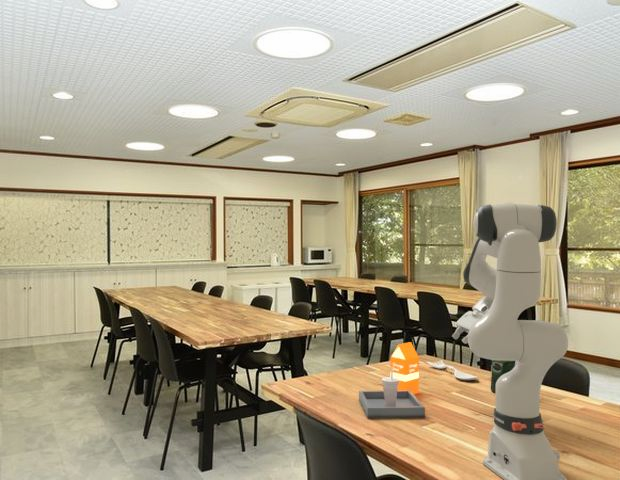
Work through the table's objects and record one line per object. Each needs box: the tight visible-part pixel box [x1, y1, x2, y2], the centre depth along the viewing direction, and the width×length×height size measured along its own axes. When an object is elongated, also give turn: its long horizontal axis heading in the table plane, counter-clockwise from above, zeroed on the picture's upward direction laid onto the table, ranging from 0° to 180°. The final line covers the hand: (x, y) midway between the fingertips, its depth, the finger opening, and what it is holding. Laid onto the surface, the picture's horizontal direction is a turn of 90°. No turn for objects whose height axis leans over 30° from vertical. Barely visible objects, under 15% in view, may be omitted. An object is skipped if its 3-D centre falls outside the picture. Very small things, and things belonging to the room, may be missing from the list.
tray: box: [358, 390, 426, 419], centre depth 178 cm, size 20×20×4 cm
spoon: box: [425, 359, 479, 381], centre depth 228 cm, size 9×32×4 cm, turn 18°
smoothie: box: [381, 366, 399, 407], centre depth 178 cm, size 6×6×14 cm
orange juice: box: [389, 341, 420, 395], centre depth 198 cm, size 8×9×20 cm
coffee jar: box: [490, 360, 516, 394], centre depth 198 cm, size 10×8×19 cm
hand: (458, 340), depth 176 cm, fingers open, 8 cm apart
